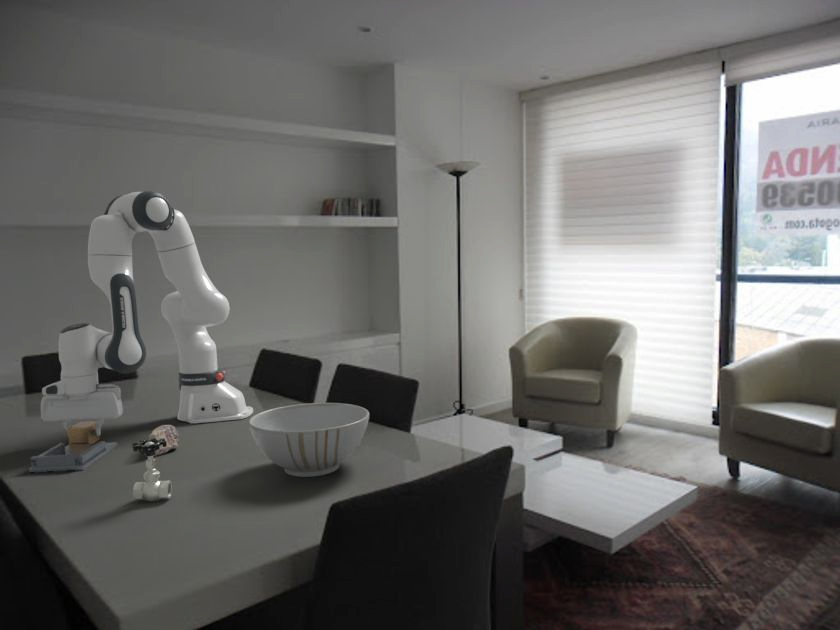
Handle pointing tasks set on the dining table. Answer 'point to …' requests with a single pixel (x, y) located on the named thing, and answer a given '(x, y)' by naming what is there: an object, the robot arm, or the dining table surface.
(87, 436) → the cardboard shipping carton
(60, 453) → the tray
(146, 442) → the valve
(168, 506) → the dining table surface
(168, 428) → the mineral specimen
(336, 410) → the decorative bowl
